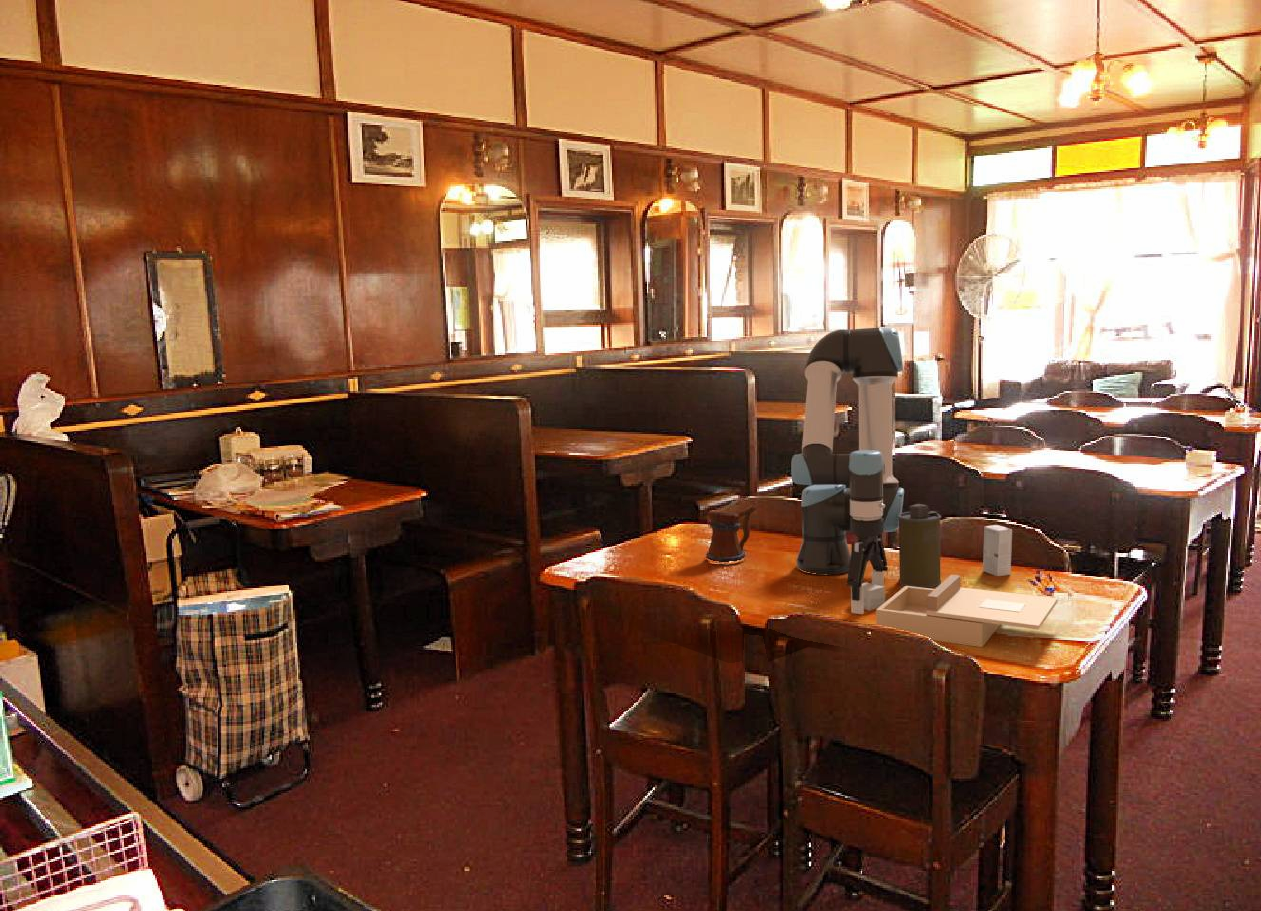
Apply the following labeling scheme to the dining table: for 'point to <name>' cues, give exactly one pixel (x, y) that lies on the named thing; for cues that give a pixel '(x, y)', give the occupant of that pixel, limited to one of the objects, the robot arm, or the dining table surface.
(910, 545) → the canister
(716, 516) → the mug
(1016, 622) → the lid
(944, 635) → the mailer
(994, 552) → the skincare box
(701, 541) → the dining table surface
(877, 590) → the small box
